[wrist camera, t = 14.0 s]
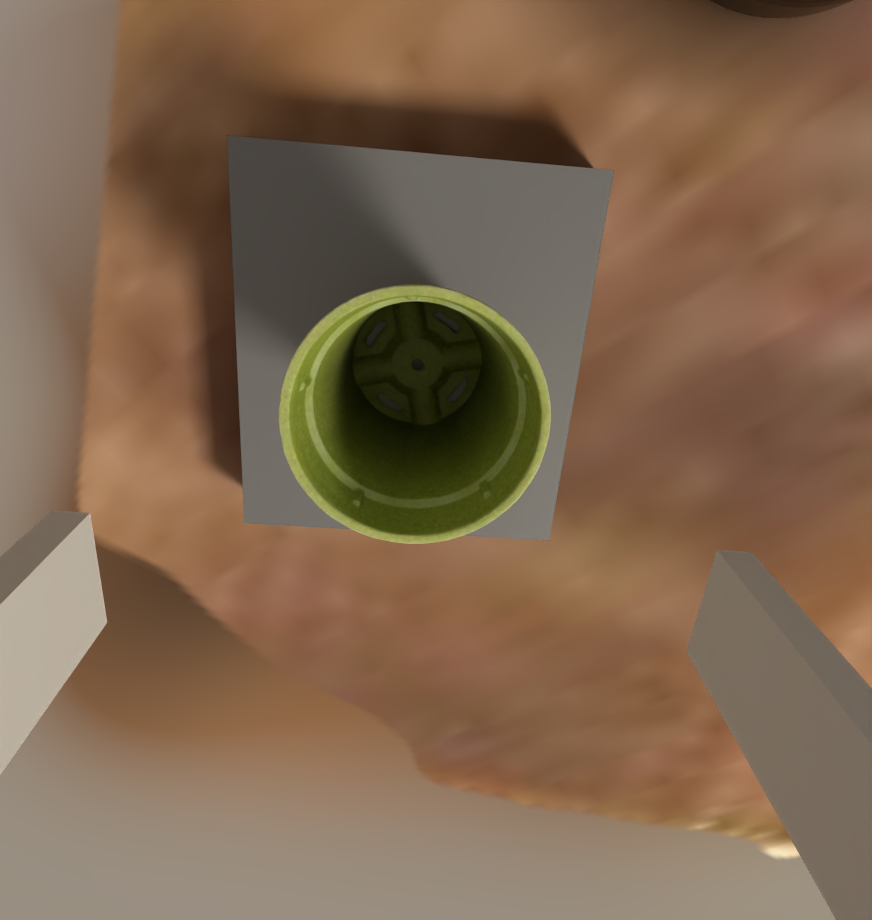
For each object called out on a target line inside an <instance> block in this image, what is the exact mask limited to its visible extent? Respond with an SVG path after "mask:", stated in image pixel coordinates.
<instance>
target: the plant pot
mask: <svg viewBox="0 0 872 920" xmlns="http://www.w3.org/2000/svg"><path fill="white" fill-rule="evenodd" d="M437 312H439V313H441V314H442V315H443V316H445V317H446V318H448V319H452V320H453V321H454V322H455V323H456V324H457V325H458V327H459V331H458V332H454V331H453V330H452V329H451V328H449V327H448V326H447V325H446V324H444V323H443V322H441V321H440V320H438V319H435V318H434V315H433V314H434V313H437ZM380 322H385V323H386V327H385V328H384V329H383V330H382V332H381V333H380V334H379V335H378V336H377V338H376V340H375V342H374V345H373V346H372V347H368V346H367V338H368V336H369V335H370V334H371V333H372V331H373V329H374V328H375V327H376V326H377V325H378V324H379V323H380ZM417 359H418V360H420V361H422V362H423V368H422V369H420V370H416V369H414V368H413V366H412V363H413V361H414V360H417ZM463 378H466V385H465V387H464V390H463V392H462V393H461V395H460V396H459V397H458V398H457V399H456V400H454V401H451V402H449V401H448V396H449V395H451V394H452V392H453V391H454V390H455V389H456V388H457V387H458V386H459V384H460V383H461V382H462V379H463ZM380 393H383V394H384V395H385V396H387V398H389V399H390V400H391V401H392V402H394V403H396V404H398V405H400V406H401V407H403V410H400V411H396V410H394V409H392V408H390V407H389V406H387V405H385V404H384V403H383V402H382V401H380V398H379V394H380ZM550 423H551V405H550V397H549V391H548V386H547V382H546V379H545V376H544V373H543V370H542V368H541V365H540V363H539V361H538V359H537V357H536V355H535V353H534V351H533V350H532V348H531V347H530V345H529V344H528V342H527V341H526V339H525V338H524V337H523V336H522V335H521V333H520V332H519V331H518V330H517V329H516V328H515V327H514V326H513V325H512V324H511V323H510V322H509V321H508V320H507V319H506V318H504V317H503V316H502V315H501V314H499V313H498V312H497V311H495V310H494V309H492V308H491V307H489V306H488V305H486V304H484V303H483V302H481V301H479V300H477V299H475V298H473V297H471V296H469V295H466V294H464V293H461V292H458V291H455V290H452V289H448V288H444V287H438V286H431V285H421V284H403V285H395V286H389V287H383V288H379V289H375V290H372V291H369V292H366V293H363V294H361V295H358V296H356V297H354V298H352V299H350V300H348V301H346V302H344V303H342V304H341V305H339V306H338V307H336V308H335V309H334V310H332V311H331V312H329V313H328V314H327V315H325V316H324V317H323V318H322V319H321V320H320V321H319V322H318V323H317V324H316V325H315V326H314V327H313V328H312V329H311V330H310V331H309V333H308V334H307V335H306V336H305V338H304V339H303V340H302V342H301V343H300V345H299V347H298V348H297V350H296V352H295V353H294V355H293V357H292V359H291V361H290V363H289V366H288V368H287V371H286V374H285V377H284V380H283V384H282V388H281V394H280V401H279V430H280V436H281V441H282V446H283V449H284V454H285V457H286V459H287V462H288V464H289V466H290V468H291V470H292V472H293V474H294V476H295V478H296V480H297V481H298V483H299V484H300V486H301V487H302V488H303V490H304V491H305V492H306V494H307V495H308V496H309V497H310V498H311V499H312V500H313V501H314V502H315V504H316V505H317V506H318V507H319V508H321V509H322V510H323V511H324V512H325V513H326V514H328V515H329V516H330V517H332V518H333V519H335V520H336V521H338V522H340V523H341V524H343V525H345V526H347V527H348V528H350V529H352V530H354V531H356V532H358V533H361V534H364V535H366V536H369V537H372V538H376V539H380V540H385V541H390V542H398V543H407V544H414V543H416V544H421V543H433V542H439V541H445V540H449V539H453V538H457V537H460V536H463V535H466V534H468V533H471V532H473V531H476V530H477V529H479V528H481V527H483V526H485V525H487V524H488V523H490V522H492V521H493V520H495V519H496V518H497V517H499V516H500V515H501V514H502V513H504V512H505V511H506V510H507V509H509V508H510V507H511V506H512V505H513V504H514V503H515V502H516V501H517V500H518V499H519V498H520V496H521V495H522V494H523V493H524V491H525V490H526V488H527V487H528V485H529V484H530V483H531V481H532V480H533V478H534V476H535V474H536V473H537V471H538V469H539V467H540V464H541V462H542V459H543V456H544V453H545V450H546V446H547V442H548V438H549V433H550Z"/></svg>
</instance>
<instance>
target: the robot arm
mask: <svg viewBox="0 0 872 920" xmlns="http://www.w3.org/2000/svg"><path fill="white" fill-rule="evenodd" d="M712 1H713V2H715V3H717V4H719V5H721V6H724V7H726V8H728V9H731V10H734V11H737V12H740V13H744V14H748V15H753V16H759V17H769V18H790V17H798V16H805V15H810V14H815V13H819V12H822V11H825V10H829V9H832V8H834V7H837V6H840V5H842V4H845V3H847V2H850V1H852V0H712ZM106 623H107V618H106V612H105V605H104V599H103V593H102V587H101V580H100V574H99V567H98V561H97V555H96V548H95V541H94V535H93V529H92V522H91V516H90V513H83V512H65V511H51V512H50V513H48V514H47V515H46V516H45V517H44V518H43V519H42V520H41V521H40V522H38V523H37V524H36V525H35V526H34V527H33V528H32V529H31V530H30V531H28V532H27V533H26V534H25V535H24V536H23V537H22V538H21V539H20V540H19V541H17V542H16V543H15V544H14V545H13V546H12V547H11V548H10V549H9V550H8V551H7V552H5V553H4V554H3V555H2V556H1V557H0V774H1V773H2V771H3V770H4V769H5V767H6V766H7V764H8V763H9V761H10V760H11V759H12V757H13V756H14V755H15V753H16V752H17V750H18V749H19V747H20V746H21V745H22V743H23V742H24V740H25V739H26V737H27V736H28V735H29V733H30V731H31V730H32V729H33V727H34V726H35V724H36V723H37V722H38V720H39V719H40V717H41V716H42V715H43V713H44V712H45V710H46V709H47V707H48V706H49V705H50V703H51V702H52V700H53V699H54V697H55V696H56V695H57V693H58V692H59V690H60V689H61V687H62V686H63V685H64V683H65V682H66V680H67V679H68V678H69V676H70V675H71V673H72V672H73V670H74V669H75V667H76V666H77V665H78V663H79V662H80V660H81V659H82V658H83V656H84V655H85V653H86V652H87V650H88V649H89V648H90V646H91V645H92V643H93V642H94V640H95V639H96V638H97V636H98V635H99V633H100V632H101V630H102V629H103V628H104V626H105V625H106ZM686 652H687V654H688V655H689V657H690V659H691V661H692V663H693V664H694V666H695V668H696V670H697V672H698V673H699V675H700V677H701V679H702V681H703V682H704V684H705V686H706V688H707V689H708V691H709V693H710V695H711V697H712V698H713V700H714V702H715V704H716V706H717V707H718V709H719V711H720V713H721V715H722V716H723V718H724V720H725V722H726V724H727V725H728V727H729V729H730V731H731V732H732V734H733V736H734V738H735V740H736V741H737V743H738V745H739V747H740V749H741V750H742V752H743V754H744V756H745V758H746V759H747V761H748V763H749V765H750V767H751V768H752V770H753V772H754V774H755V775H756V777H757V779H758V781H759V783H760V784H761V786H762V788H763V790H764V792H765V793H766V795H767V797H768V799H769V801H770V802H771V804H772V806H773V808H774V810H775V811H776V813H777V815H778V817H779V818H780V820H781V822H782V824H783V826H784V827H785V829H786V831H787V833H788V835H789V836H790V838H791V840H792V842H793V844H794V845H795V847H796V849H797V851H798V852H799V854H800V856H801V858H802V860H803V861H804V863H805V865H806V867H807V869H808V870H809V872H810V874H811V876H812V878H813V879H814V881H815V883H816V885H817V887H818V888H819V890H820V892H821V893H822V895H823V897H824V899H825V901H826V903H827V904H828V906H829V908H830V910H831V912H832V913H833V915H834V917H835V919H836V920H872V688H871V687H870V686H869V685H868V684H867V683H866V682H865V680H864V679H863V678H862V677H861V676H860V675H859V674H858V672H857V671H856V670H855V669H854V668H853V667H852V666H851V664H850V663H849V662H848V661H847V660H846V659H845V658H844V657H843V655H842V654H841V653H840V652H839V651H838V650H837V649H836V647H835V646H834V645H833V644H832V643H831V642H830V641H829V639H828V638H827V637H826V636H825V635H824V634H823V633H822V632H821V630H820V629H819V628H818V627H817V626H816V625H815V624H814V622H813V621H812V620H811V619H810V618H809V617H808V616H807V614H806V613H805V612H804V611H803V610H802V609H801V608H800V606H799V605H798V604H797V603H796V602H795V601H794V600H793V599H792V597H791V596H790V595H789V594H788V593H787V592H786V591H785V589H784V588H783V587H782V586H781V585H780V584H779V583H778V581H777V580H776V579H775V578H774V577H773V576H772V575H771V574H770V572H769V571H768V570H767V569H766V568H765V567H764V566H763V564H762V563H761V562H760V561H759V560H758V559H757V558H756V556H755V555H754V554H753V553H752V552H743V551H726V550H717V551H716V555H715V558H714V561H713V565H712V568H711V571H710V575H709V578H708V581H707V585H706V588H705V591H704V595H703V598H702V601H701V605H700V608H699V611H698V615H697V618H696V621H695V625H694V628H693V631H692V634H691V638H690V641H689V644H688V648H687V651H686Z"/></svg>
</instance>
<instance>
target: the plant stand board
mask: <svg viewBox="0 0 872 920" xmlns="http://www.w3.org/2000/svg"><path fill="white" fill-rule="evenodd" d="M227 150H228V172H229V195H230V217H231V239H232V261H233V283H234V306H235V328H236V350H237V372H238V394H239V417H240V439H241V461H242V483H243V505H244V523H251V524H269V525H287V526H304V527H322V528H340V529H350V528H348V527H347V526H345V525H343V524H341V523H340V522H338V521H336V520H335V519H333V518H332V517H330V516H329V515H328V514H326V513H325V512H324V511H323V510H322V509H321V508H319V507H318V506H317V505H316V504H315V502H314V501H313V500H312V499H311V498H310V497H309V496H308V495H307V494H306V492H305V491H304V490H303V488H302V487H301V486H300V484H299V483H298V481H297V480H296V478H295V476H294V474H293V472H292V470H291V468H290V466H289V464H288V462H287V459H286V457H285V454H284V449H283V446H282V441H281V436H280V430H279V401H280V394H281V388H282V384H283V380H284V377H285V374H286V371H287V368H288V366H289V363H290V361H291V359H292V357H293V355H294V353H295V352H296V350H297V348H298V347H299V345H300V343H301V342H302V340H303V339H304V338H305V336H306V335H307V334H308V333H309V331H310V330H311V329H312V328H313V327H314V326H315V325H316V324H317V323H318V322H319V321H320V320H321V319H322V318H323V317H324V316H325V315H327V314H328V313H329V312H331V311H332V310H334V309H335V308H336V307H338V306H339V305H341V304H342V303H344V302H346V301H348V300H350V299H352V298H354V297H356V296H358V295H361V294H363V293H366V292H369V291H372V290H375V289H379V288H383V287H389V286H395V285H403V284H421V285H431V286H438V287H444V288H448V289H452V290H455V291H458V292H461V293H464V294H466V295H469V296H471V297H473V298H475V299H477V300H479V301H481V302H483V303H484V304H486V305H488V306H489V307H491V308H492V309H494V310H495V311H497V312H498V313H499V314H501V315H502V316H503V317H504V318H506V319H507V320H508V321H509V322H510V323H511V324H512V325H513V326H514V327H515V328H516V329H517V330H518V331H519V332H520V333H521V335H522V336H523V337H524V338H525V339H526V341H527V342H528V344H529V345H530V347H531V348H532V350H533V351H534V353H535V355H536V357H537V359H538V361H539V363H540V365H541V368H542V370H543V373H544V376H545V379H546V382H547V386H548V391H549V397H550V405H551V423H550V433H549V438H548V442H547V446H546V450H545V453H544V456H543V459H542V462H541V464H540V467H539V469H538V471H537V473H536V474H535V476H534V478H533V480H532V481H531V483H530V484H529V485H528V487H527V488H526V490H525V491H524V493H523V494H522V495H521V496H520V498H519V499H518V500H517V501H516V502H515V503H514V504H513V505H512V506H511V507H510V508H509V509H507V510H506V511H505V512H504V513H502V514H501V515H500V516H499V517H497V518H496V519H495V520H493V521H492V522H490V523H488V524H487V525H485V526H483V527H481V528H479V529H477V530H476V531H473V532H471V533H468V534H466V535H463V536H481V537H498V538H516V539H533V540H549V538H550V532H551V527H552V521H553V515H554V509H555V504H556V498H557V492H558V487H559V481H560V475H561V470H562V464H563V458H564V453H565V447H566V441H567V435H568V430H569V424H570V418H571V413H572V407H573V401H574V396H575V390H576V384H577V379H578V373H579V367H580V361H581V356H582V350H583V344H584V339H585V333H586V327H587V322H588V316H589V310H590V304H591V299H592V293H593V287H594V282H595V276H596V270H597V265H598V259H599V253H600V248H601V242H602V236H603V230H604V225H605V219H606V213H607V208H608V202H609V196H610V191H611V185H612V179H613V174H614V170H606V169H595V168H584V167H573V166H562V165H551V164H540V163H528V162H517V161H506V160H495V159H484V158H473V157H462V156H451V155H440V154H429V153H418V152H407V151H396V150H385V149H374V148H363V147H352V146H341V145H330V144H319V143H308V142H297V141H286V140H275V139H264V138H253V137H241V136H230V135H227ZM433 315H434V318H435V319H438V320H440V321H441V322H443V323H444V324H446V325H447V326H448V327H449V328H451V329H452V330H453V331H454V332H458V331H459V327H458V325H457V324H456V323H455V322H454V321H453V320H452V319H448V318H446V317H445V316H443V315H442V314H441V313H439V312H437V313H434V314H433ZM385 327H386V323H385V322H380V323H379V324H378V325H377V326H376V327H375V328H374V329H373V331H372V333H371V334H370V335H369V336H368V338H367V346H368V347H372V346H373V345H374V342H375V340H376V338H377V336H378V335H379V334H380V333H381V332H382V330H383V329H384V328H385ZM412 366H413V368H414V369H416V370H420V369H422V368H423V362H422V361H420V360H418V359H417V360H414V361H413V363H412ZM465 385H466V378H463V379H462V382H461V383H460V384H459V386H458V387H457V388H456V389H455V390H454V391H453V392H452V394H451V395H449V396H448V401H449V402H451V401H454V400H456V399H457V398H458V397H459V396H460V395H461V393H462V392H463V390H464V387H465ZM379 398H380V401H382V402H383V403H384V404H385V405H387V406H389V407H390V408H392V409H394V410H396V411H400V410H403V407H401V406H400V405H398V404H396V403H394V402H392V401H391V400H390V399H389V398H387V396H385V395H384V394H383V393H380V394H379Z"/></svg>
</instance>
